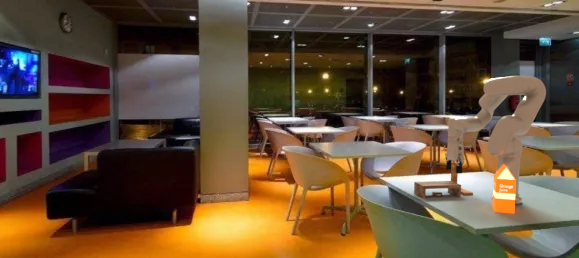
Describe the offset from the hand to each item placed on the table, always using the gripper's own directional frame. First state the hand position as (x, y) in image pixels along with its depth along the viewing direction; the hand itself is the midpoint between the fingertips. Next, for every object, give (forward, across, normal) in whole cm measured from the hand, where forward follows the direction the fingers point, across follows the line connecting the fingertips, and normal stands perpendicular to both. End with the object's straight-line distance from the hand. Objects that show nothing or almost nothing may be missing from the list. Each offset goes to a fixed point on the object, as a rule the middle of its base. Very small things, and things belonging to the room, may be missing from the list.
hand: (453, 171), depth 220 cm
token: (+10, -12, +16) cm, 22 cm away
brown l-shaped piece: (+10, -7, 0) cm, 12 cm away
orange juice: (+10, -42, +1) cm, 43 cm away
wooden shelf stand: (+10, -12, +16) cm, 22 cm away
